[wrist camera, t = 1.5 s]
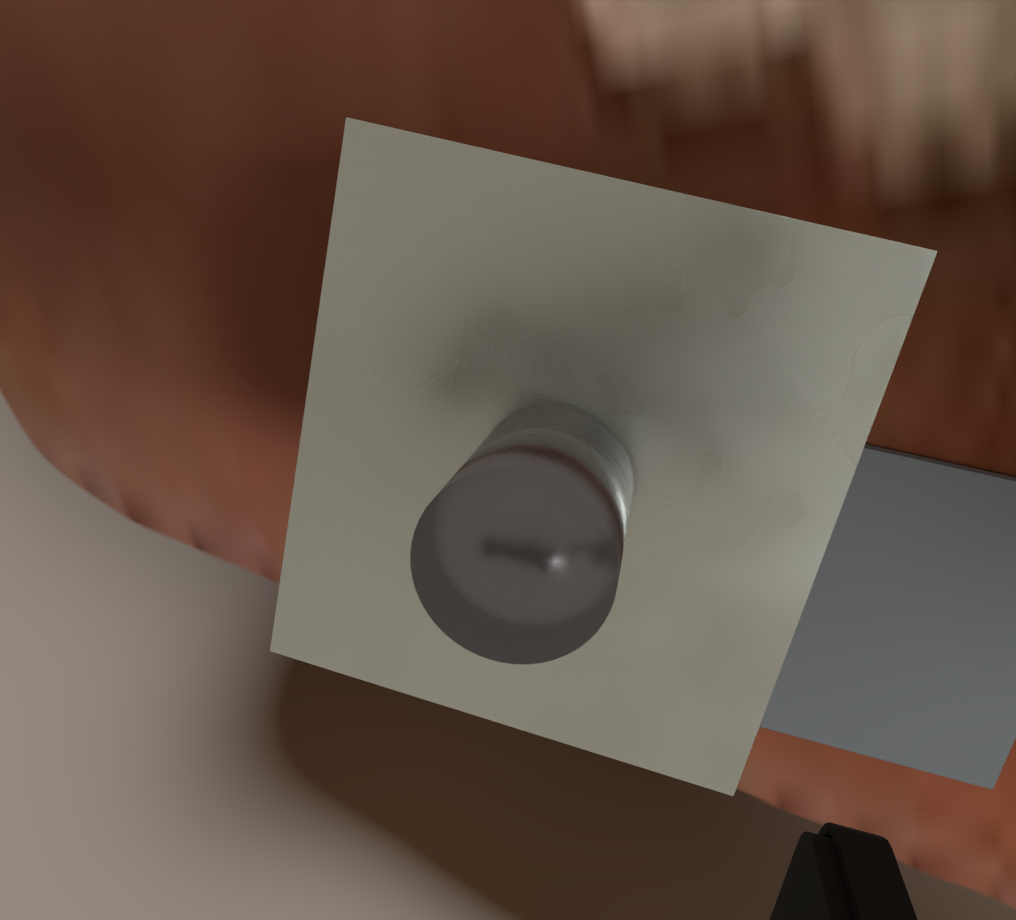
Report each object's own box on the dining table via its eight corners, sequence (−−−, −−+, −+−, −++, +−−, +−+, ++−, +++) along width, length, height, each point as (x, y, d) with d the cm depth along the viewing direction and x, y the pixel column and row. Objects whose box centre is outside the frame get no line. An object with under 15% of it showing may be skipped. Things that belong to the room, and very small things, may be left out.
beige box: (803, 232, 33) (1045, 266, 11) (708, 528, 37) (749, 973, 15) (511, 165, 35) (223, 80, 13) (451, 457, 39) (156, 771, 17)
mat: (1110, 498, 34) (1120, 504, 33) (986, 778, 38) (992, 789, 37) (763, 421, 36) (765, 426, 35) (683, 696, 40) (684, 706, 39)
